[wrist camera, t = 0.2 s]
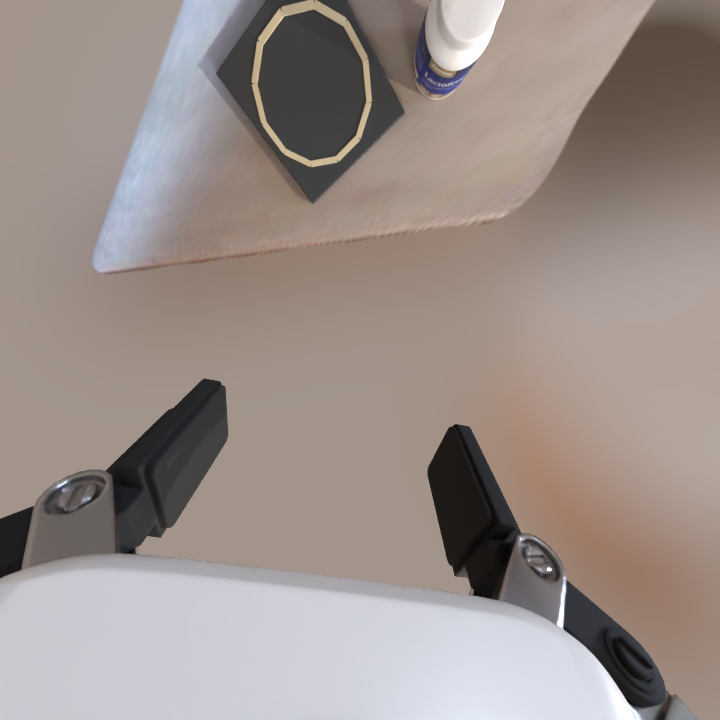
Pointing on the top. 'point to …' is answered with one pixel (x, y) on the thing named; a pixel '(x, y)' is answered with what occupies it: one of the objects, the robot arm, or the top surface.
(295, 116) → the board
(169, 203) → the top surface
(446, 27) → the pill bottle
